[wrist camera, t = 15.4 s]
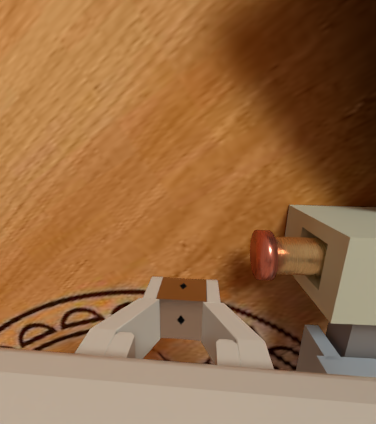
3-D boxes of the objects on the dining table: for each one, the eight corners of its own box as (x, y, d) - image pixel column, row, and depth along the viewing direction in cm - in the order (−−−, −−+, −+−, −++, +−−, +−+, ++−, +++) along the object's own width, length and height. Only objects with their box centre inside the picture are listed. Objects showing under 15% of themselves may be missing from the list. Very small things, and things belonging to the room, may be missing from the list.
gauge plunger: (395, 227, 15) (448, 246, 11) (383, 268, 15) (430, 297, 12) (252, 223, 15) (266, 241, 12) (248, 264, 16) (261, 290, 13)
